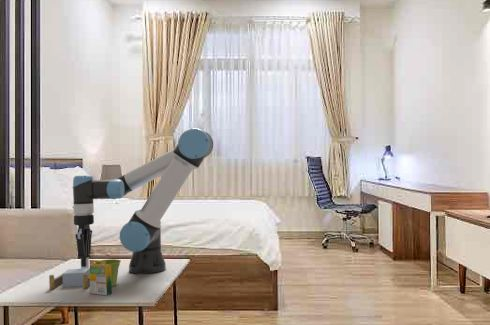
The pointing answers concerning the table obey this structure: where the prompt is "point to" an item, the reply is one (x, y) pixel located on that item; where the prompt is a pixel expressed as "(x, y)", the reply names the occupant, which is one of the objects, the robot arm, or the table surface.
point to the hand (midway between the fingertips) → (85, 274)
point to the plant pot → (112, 268)
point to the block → (74, 277)
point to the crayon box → (100, 278)
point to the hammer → (58, 281)
